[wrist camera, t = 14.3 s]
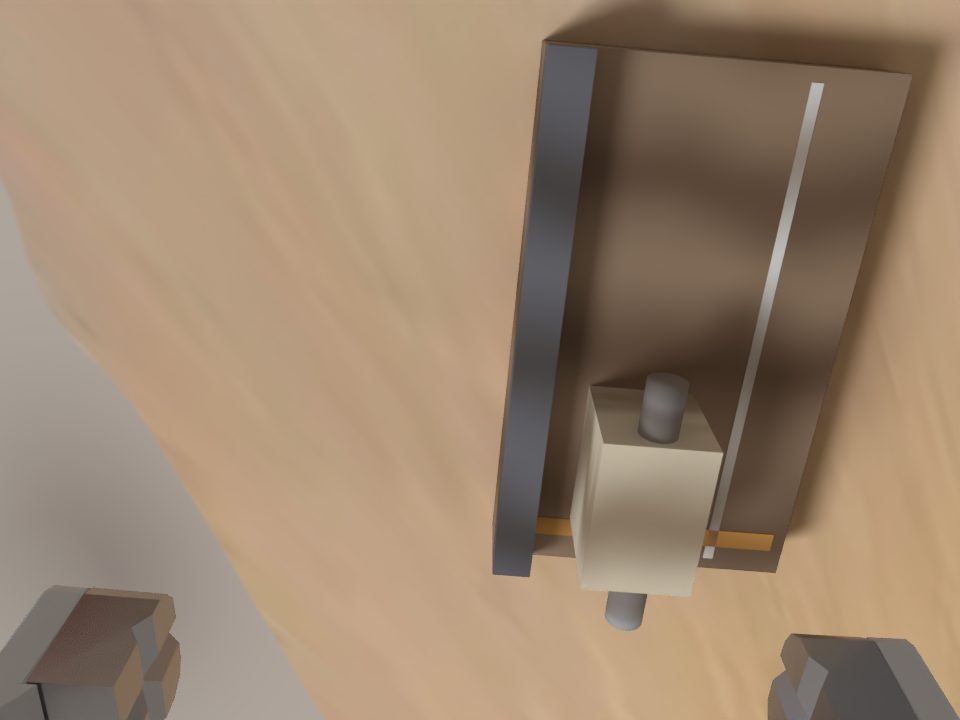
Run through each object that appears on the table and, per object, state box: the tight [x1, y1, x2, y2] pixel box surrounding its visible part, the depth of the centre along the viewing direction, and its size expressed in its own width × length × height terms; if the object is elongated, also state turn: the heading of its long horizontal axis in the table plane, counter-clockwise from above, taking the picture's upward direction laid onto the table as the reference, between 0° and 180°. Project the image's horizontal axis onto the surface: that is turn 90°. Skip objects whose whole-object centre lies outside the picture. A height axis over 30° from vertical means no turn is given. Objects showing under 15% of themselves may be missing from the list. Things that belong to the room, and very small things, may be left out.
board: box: [493, 40, 913, 577], centre depth 31 cm, size 20×12×4 cm, turn 175°
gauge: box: [570, 372, 723, 631], centre depth 31 cm, size 10×4×4 cm, turn 175°
